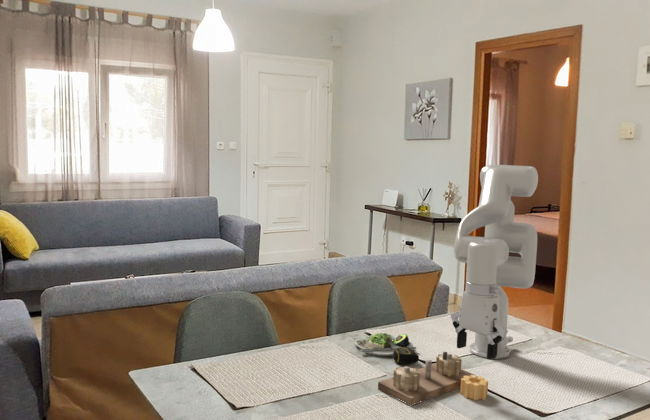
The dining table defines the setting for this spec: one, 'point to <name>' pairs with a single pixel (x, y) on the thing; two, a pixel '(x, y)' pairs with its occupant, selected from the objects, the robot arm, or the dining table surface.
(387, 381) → the gear board
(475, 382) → the ochre gear
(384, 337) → the salad plate
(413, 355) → the tape measure
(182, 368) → the dining table surface
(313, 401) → the dining table surface
